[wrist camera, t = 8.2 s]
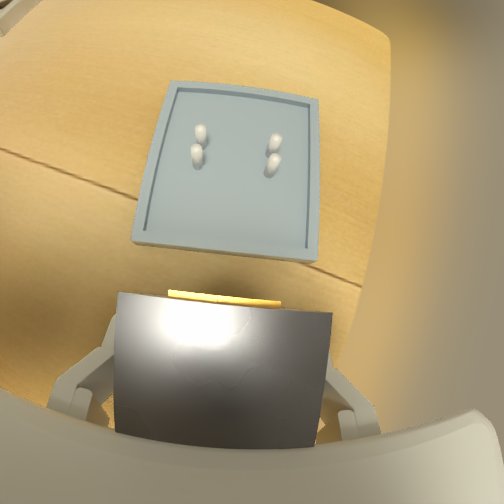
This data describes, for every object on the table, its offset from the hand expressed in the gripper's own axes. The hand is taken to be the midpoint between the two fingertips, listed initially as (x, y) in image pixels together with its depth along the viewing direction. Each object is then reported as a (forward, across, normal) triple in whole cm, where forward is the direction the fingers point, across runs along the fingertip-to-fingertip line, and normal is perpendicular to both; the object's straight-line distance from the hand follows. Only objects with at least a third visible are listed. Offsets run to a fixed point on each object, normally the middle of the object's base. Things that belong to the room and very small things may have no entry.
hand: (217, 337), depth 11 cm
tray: (+27, 0, +2) cm, 27 cm away
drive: (+3, 0, +4) cm, 5 cm away
